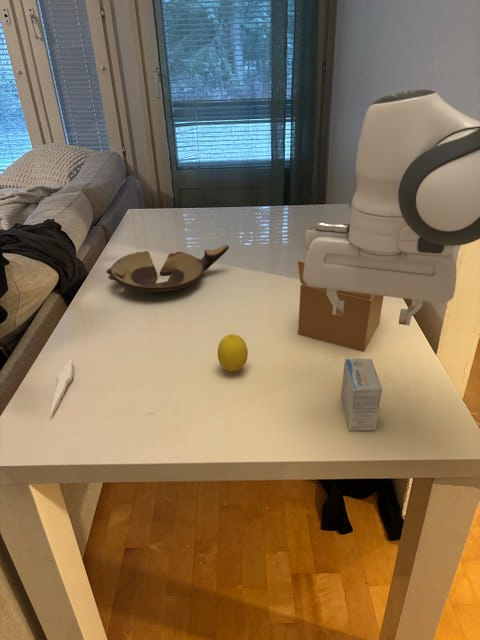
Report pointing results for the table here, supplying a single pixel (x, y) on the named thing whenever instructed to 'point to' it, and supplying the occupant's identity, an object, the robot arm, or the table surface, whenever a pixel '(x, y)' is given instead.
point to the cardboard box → (338, 317)
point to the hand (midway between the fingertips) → (370, 318)
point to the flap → (301, 269)
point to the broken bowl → (162, 270)
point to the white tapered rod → (62, 384)
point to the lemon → (232, 352)
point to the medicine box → (361, 394)
